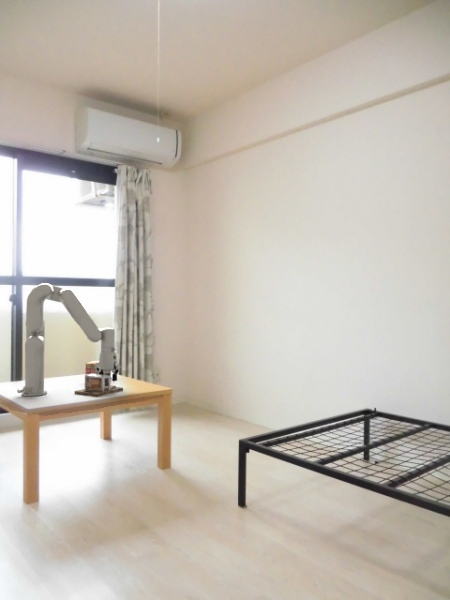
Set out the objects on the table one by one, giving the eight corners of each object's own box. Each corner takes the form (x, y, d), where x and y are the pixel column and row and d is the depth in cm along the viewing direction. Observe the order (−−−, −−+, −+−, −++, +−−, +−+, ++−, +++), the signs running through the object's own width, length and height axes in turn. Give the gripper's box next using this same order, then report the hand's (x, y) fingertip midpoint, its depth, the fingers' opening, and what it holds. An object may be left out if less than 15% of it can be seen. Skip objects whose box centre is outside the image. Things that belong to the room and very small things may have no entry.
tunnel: (102, 391, 255) (103, 377, 255) (84, 389, 261) (84, 375, 261) (110, 390, 260) (110, 375, 260) (92, 387, 266) (92, 373, 266)
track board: (97, 397, 249) (97, 394, 249) (74, 393, 256) (74, 391, 256) (123, 390, 268) (123, 387, 268) (101, 387, 275) (101, 385, 275)
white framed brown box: (100, 390, 256) (100, 376, 256) (87, 389, 260) (87, 375, 260) (115, 387, 267) (116, 373, 267) (103, 385, 271) (103, 372, 271)
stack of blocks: (102, 377, 311) (102, 358, 311) (110, 377, 309) (111, 359, 309) (85, 383, 290) (85, 362, 290) (94, 383, 288) (94, 363, 288)
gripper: (124, 350, 267) (124, 380, 267) (100, 348, 275) (100, 378, 275) (115, 351, 260) (115, 382, 260) (91, 349, 268) (91, 380, 268)
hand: (107, 380), depth 268 cm, fingers open, 9 cm apart
